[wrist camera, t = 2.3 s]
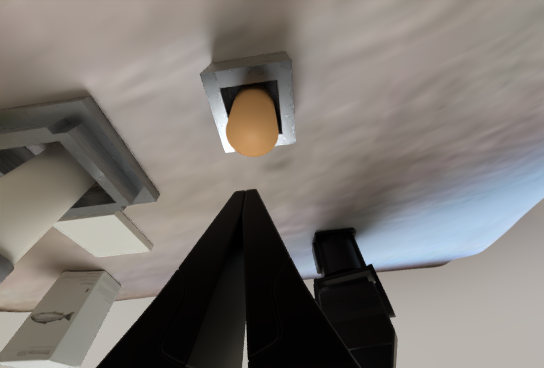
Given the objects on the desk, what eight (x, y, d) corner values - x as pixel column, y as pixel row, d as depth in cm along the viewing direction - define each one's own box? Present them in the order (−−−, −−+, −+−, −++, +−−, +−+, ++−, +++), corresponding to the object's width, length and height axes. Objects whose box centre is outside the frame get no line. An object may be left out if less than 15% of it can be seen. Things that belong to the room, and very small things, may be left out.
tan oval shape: (271, 81, 15) (275, 104, 11) (276, 122, 17) (280, 153, 13) (229, 87, 15) (218, 112, 11) (239, 127, 17) (233, 159, 13)
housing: (90, 95, 17) (62, 109, 14) (159, 194, 25) (148, 214, 22) (-38, 115, 17) (-86, 131, 15) (70, 206, 25) (50, 226, 23)
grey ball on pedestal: (83, 136, 19) (-75, 244, 10) (117, 177, 23) (21, 285, 14) (33, 143, 19) (-164, 255, 10) (74, 183, 23) (-48, 292, 14)
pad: (118, 208, 26) (114, 214, 25) (153, 245, 32) (150, 251, 31) (54, 217, 26) (48, 222, 26) (100, 251, 32) (97, 257, 31)
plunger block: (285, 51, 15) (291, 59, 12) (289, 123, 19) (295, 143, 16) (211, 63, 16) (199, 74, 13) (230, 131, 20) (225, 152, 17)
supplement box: (105, 269, 36) (49, 360, 26) (122, 286, 41) (80, 368, 31) (62, 270, 35) (-12, 364, 26) (84, 287, 40) (30, 371, 31)
